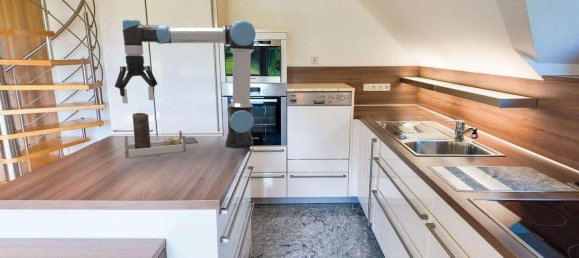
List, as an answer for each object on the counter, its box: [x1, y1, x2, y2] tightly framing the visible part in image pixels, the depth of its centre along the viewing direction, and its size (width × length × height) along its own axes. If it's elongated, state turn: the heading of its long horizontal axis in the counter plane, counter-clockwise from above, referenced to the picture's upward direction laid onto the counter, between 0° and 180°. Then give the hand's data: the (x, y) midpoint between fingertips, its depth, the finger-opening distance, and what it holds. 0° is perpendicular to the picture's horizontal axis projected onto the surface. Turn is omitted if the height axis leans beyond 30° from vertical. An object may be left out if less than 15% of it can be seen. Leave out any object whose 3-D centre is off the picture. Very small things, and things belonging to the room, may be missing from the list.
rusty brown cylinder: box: [132, 112, 151, 149], centre depth 166 cm, size 8×7×20 cm
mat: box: [177, 136, 199, 145], centre depth 190 cm, size 14×14×1 cm
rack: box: [124, 130, 187, 158], centre depth 170 cm, size 28×13×8 cm, turn 116°
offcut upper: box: [163, 136, 180, 146], centre depth 173 cm, size 6×7×3 cm
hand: (138, 101), depth 154 cm, fingers open, 13 cm apart
